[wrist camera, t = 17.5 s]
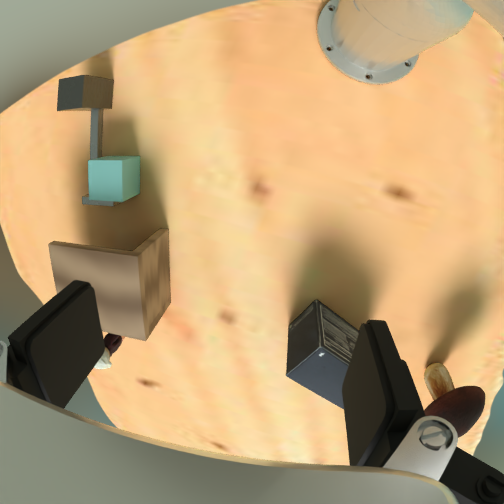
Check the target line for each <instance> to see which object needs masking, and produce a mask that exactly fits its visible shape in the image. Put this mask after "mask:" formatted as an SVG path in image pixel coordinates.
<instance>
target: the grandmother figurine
mask: <svg viewBox="0 0 504 504" xmlns="http://www.w3.org/2000/svg"><path fill="white" fill-rule="evenodd" d="M124 338H125V336H121V335H116V334H112V333H108V334H107V335H106V336H105V338H104V343H105V351H104V354H103V355H102V357H101V358H100V359H99V361H98V362H97V364H96V365H95V366H94V368H97V369H105V368H110V367H111V365H112V364H111V362H110V361H109V360H110V357H111V356H112V354H113V353H114V352H115V351H116V350H117V349H118V348H119V346H120V345H121V343H122V341H123V339H124Z"/></svg>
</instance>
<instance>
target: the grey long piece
mask: <svg viewBox="0 0 504 504" xmlns="http://www.w3.org/2000/svg"><path fill="white" fill-rule="evenodd" d="M113 84H114V80H111V79H106V78H100V77H95V76H89V75H80V76H75V77H69V78H64V79H59V87H58V102H57V111H90V110H91V137H90V160H92V159H96V158H101V157H102V128H103V109H112V98H113ZM119 203H121V202H115V201H100V200H89V194H88V195H85V196H83V197H82V204H88V205H103V206H115V205H117V204H119Z"/></svg>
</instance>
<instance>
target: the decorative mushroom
mask: <svg viewBox="0 0 504 504" xmlns="http://www.w3.org/2000/svg"><path fill="white" fill-rule="evenodd" d="M424 379H425V383H426V385H427V388H428V390H429V392H430V394H431V396H432V398H433V400H434V401H433V402H432V403H431V404H430V405H429V406H428V407H427V408H426V409H425V410H424V412H425V415H426V416H437V417H440V418H443V419H445V420H447V421H448V422H450V423H451V424H452V426H453V427H454V428H455V430H456V432H457V435H458V438H459V437H461V436H462V435H464V434H465V433H467V432H468V431H469V430H470V429H471V427H472V426H473V425H474V424H475V423H476V422H477V420H478V419H479V417H480V416H481V414H482V412H483V409H484V405H485V393H484V391H483V390H482V389H481V388H480V387H477V386H463V387H459V388H456V389H455V388H454V385H453V382H452V379H451V376H450V374H449V372H448V370H447V368H446V367H445V366H444V365H443V364H441V363H433V364H431V365H429V366H428V367H427V368H426V370H425V373H424Z"/></svg>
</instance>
